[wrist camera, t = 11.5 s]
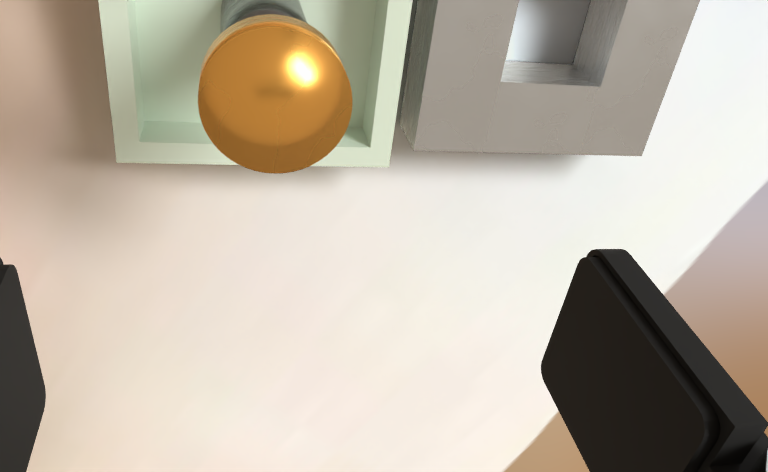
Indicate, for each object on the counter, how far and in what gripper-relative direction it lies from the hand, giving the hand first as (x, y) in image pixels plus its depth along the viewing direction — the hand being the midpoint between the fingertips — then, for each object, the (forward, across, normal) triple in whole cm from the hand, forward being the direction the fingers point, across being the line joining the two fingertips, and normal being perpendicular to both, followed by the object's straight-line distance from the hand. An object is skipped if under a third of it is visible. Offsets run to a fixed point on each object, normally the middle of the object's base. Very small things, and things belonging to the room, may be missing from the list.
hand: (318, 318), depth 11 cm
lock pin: (+20, 0, +1) cm, 20 cm away
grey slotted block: (+21, -13, 0) cm, 24 cm away
